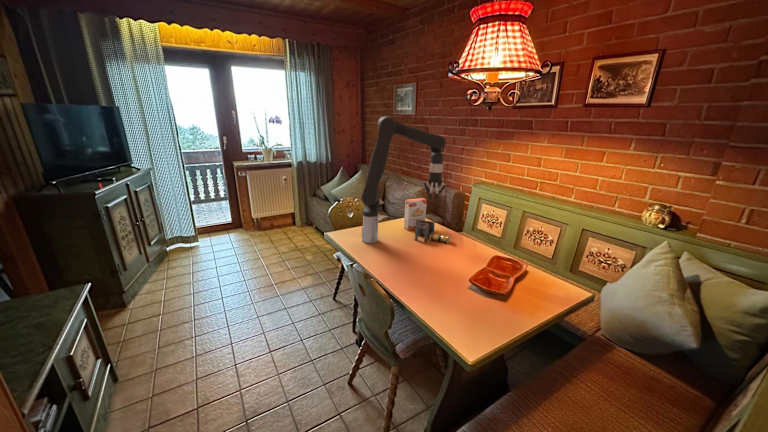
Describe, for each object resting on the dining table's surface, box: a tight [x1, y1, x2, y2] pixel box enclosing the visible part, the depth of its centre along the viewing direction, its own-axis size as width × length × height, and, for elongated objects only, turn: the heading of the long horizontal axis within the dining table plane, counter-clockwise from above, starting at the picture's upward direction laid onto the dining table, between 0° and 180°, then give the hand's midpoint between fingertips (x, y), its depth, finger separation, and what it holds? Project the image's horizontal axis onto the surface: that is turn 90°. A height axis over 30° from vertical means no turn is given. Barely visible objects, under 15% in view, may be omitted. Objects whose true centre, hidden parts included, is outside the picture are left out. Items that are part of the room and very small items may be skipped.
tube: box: [428, 232, 451, 245], centre depth 187 cm, size 12×5×5 cm, turn 70°
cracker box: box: [403, 197, 428, 231], centre depth 205 cm, size 14×6×21 cm, turn 115°
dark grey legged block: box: [414, 220, 436, 243], centre depth 190 cm, size 12×12×10 cm
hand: (433, 199), depth 180 cm, fingers open, 2 cm apart
